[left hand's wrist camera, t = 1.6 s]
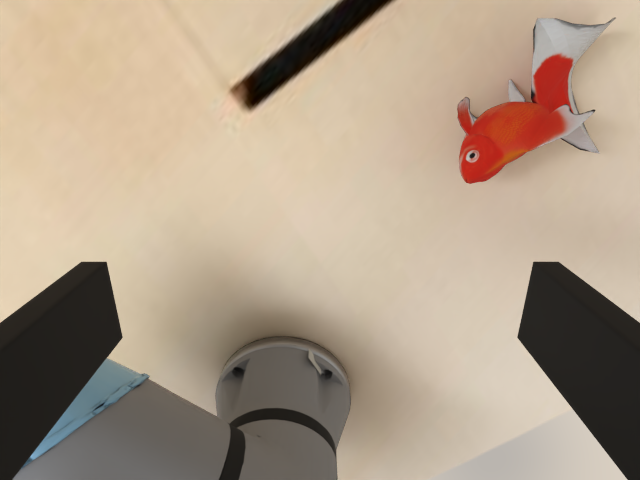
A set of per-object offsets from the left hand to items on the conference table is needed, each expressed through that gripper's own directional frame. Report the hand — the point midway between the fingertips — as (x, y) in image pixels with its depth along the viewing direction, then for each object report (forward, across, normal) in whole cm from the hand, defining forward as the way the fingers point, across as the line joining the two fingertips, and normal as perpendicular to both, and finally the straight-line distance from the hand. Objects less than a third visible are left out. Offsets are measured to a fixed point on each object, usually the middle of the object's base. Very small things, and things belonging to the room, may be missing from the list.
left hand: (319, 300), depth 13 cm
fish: (+26, -17, -5) cm, 31 cm away
